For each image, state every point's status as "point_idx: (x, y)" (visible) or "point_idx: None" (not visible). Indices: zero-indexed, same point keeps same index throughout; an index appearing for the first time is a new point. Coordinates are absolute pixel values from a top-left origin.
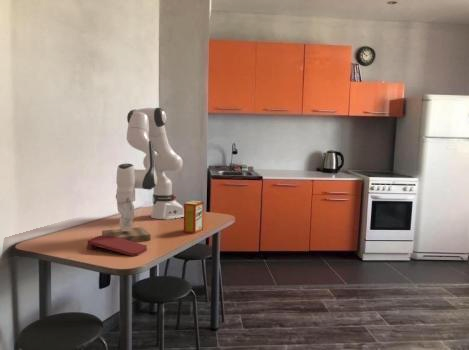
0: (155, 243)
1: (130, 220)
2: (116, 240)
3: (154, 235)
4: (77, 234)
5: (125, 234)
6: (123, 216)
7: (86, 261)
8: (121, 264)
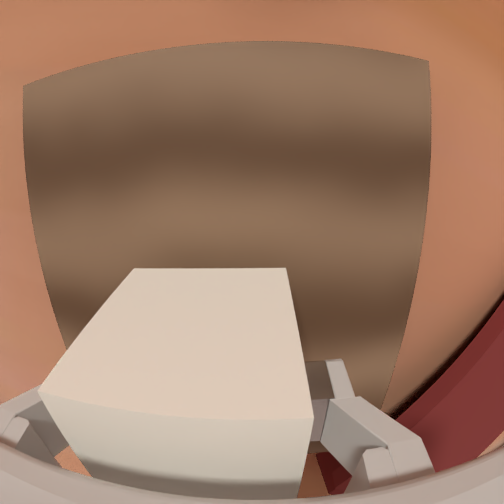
0: (489, 85)
1: (408, 430)
2: (472, 409)
3: None
4: (75, 459)
5: (310, 335)
6: (51, 454)
7: (493, 447)
8: None
